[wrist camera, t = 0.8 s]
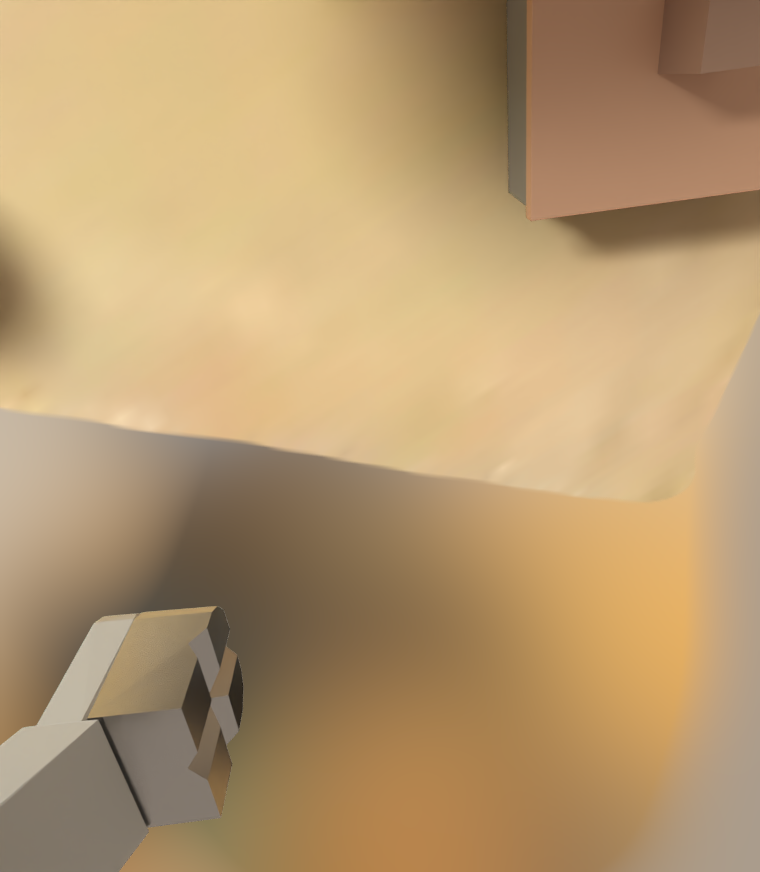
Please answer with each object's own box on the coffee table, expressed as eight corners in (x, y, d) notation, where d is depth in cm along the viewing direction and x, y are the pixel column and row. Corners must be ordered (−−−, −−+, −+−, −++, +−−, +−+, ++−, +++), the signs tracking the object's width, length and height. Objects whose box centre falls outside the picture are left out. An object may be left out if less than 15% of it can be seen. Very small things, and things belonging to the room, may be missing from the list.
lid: (527, -159, 24) (564, -209, 20) (897, -217, 24) (1017, -282, 19) (526, 216, 32) (552, 239, 27) (806, 178, 31) (878, 195, 27)
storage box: (505, -114, 29) (534, -151, 24) (799, -160, 29) (886, -206, 24) (508, 192, 36) (531, 210, 32) (743, 160, 36) (801, 173, 31)
